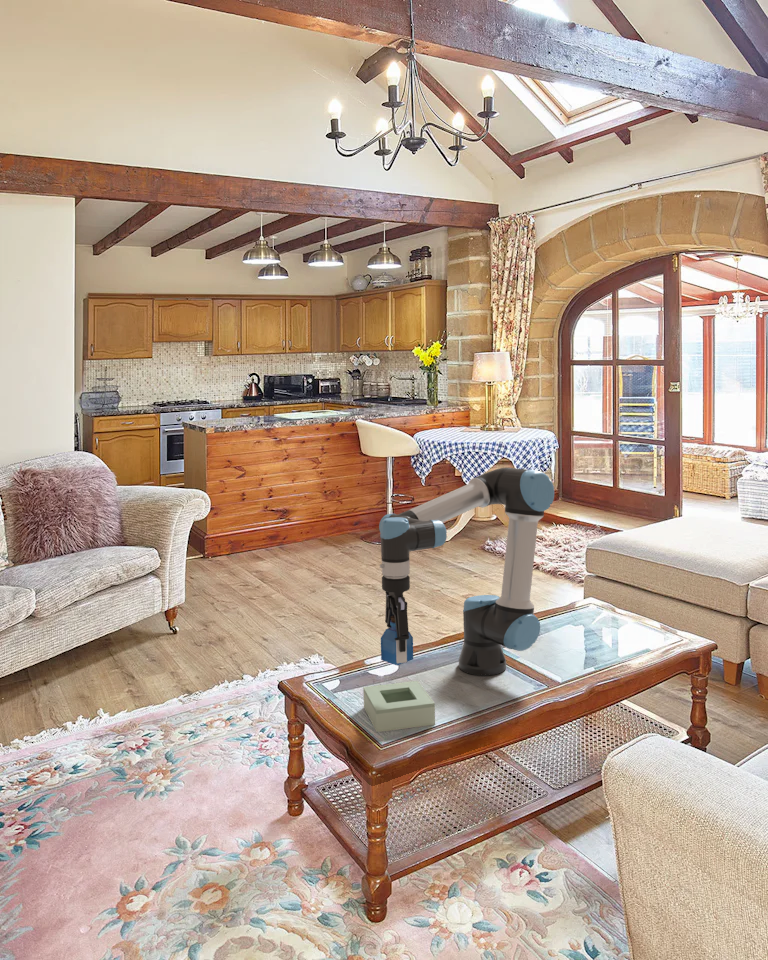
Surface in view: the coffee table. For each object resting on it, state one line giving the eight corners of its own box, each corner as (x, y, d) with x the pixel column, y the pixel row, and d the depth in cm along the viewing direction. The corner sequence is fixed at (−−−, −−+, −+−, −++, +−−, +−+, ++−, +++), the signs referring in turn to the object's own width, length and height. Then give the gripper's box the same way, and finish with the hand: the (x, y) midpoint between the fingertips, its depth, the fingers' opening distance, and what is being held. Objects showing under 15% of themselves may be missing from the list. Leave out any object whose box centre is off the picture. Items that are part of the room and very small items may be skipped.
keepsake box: (418, 700, 217) (417, 680, 216) (435, 724, 201) (434, 703, 201) (363, 707, 213) (363, 687, 212) (376, 732, 198) (376, 710, 197)
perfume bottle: (381, 659, 205) (380, 617, 204) (397, 653, 209) (396, 612, 208) (397, 665, 201) (396, 622, 199) (413, 659, 205) (412, 616, 204)
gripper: (373, 567, 212) (375, 645, 214) (391, 586, 191) (393, 672, 194) (398, 565, 213) (400, 642, 216) (420, 584, 193) (421, 668, 196)
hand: (397, 656), depth 205 cm, fingers closed on perfume bottle, 8 cm apart
